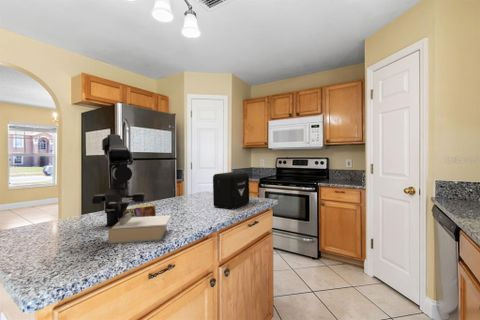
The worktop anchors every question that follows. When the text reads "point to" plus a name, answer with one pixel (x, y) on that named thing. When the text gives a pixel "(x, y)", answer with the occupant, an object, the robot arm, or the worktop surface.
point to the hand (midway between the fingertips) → (121, 220)
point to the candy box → (141, 211)
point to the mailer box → (136, 234)
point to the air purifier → (230, 190)
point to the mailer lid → (142, 221)
